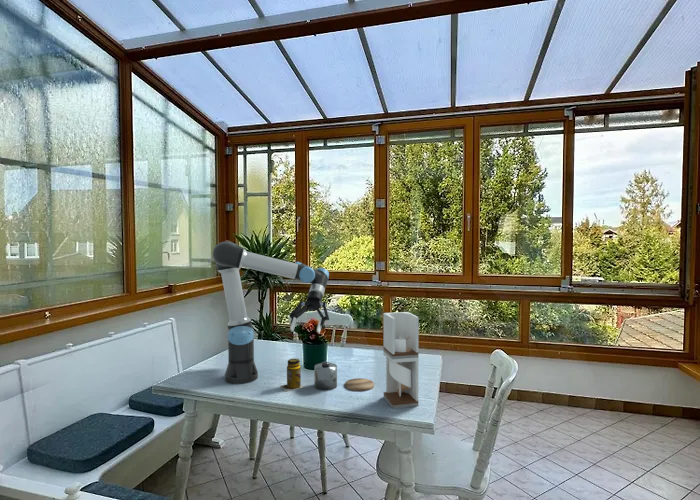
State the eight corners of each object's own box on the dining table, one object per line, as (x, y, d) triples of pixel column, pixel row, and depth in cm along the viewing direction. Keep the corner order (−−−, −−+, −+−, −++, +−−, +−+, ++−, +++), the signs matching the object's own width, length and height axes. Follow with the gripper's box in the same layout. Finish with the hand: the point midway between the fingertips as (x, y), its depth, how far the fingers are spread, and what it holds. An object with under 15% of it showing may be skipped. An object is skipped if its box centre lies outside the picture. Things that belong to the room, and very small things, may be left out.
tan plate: (339, 383, 183) (339, 381, 183) (364, 378, 189) (364, 376, 189) (353, 393, 172) (353, 390, 172) (379, 387, 178) (379, 385, 178)
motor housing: (311, 384, 182) (310, 361, 181) (331, 380, 186) (330, 358, 186) (320, 392, 173) (319, 367, 173) (340, 387, 178) (340, 364, 177)
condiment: (304, 387, 178) (304, 360, 178) (286, 391, 174) (286, 364, 173) (296, 382, 184) (296, 356, 184) (279, 386, 180) (279, 359, 179)
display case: (383, 397, 167) (383, 313, 166) (407, 394, 170) (407, 311, 169) (392, 408, 156) (392, 318, 155) (418, 405, 159) (418, 317, 157)
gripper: (340, 299, 204) (331, 336, 190) (295, 298, 211) (283, 333, 197) (337, 290, 199) (327, 327, 185) (291, 289, 206) (278, 325, 192)
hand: (304, 331), depth 191 cm, fingers open, 13 cm apart
